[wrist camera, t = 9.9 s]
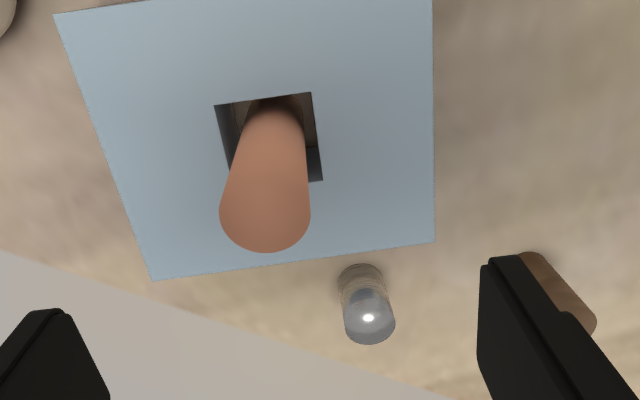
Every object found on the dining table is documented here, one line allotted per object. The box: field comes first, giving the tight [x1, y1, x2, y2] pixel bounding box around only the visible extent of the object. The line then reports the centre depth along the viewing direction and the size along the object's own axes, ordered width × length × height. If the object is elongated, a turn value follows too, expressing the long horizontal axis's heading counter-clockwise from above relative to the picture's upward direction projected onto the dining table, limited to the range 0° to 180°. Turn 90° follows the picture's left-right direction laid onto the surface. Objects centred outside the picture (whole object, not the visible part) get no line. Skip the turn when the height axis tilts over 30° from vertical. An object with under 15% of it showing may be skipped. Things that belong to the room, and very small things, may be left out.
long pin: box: [219, 94, 311, 253], centre depth 21 cm, size 3×3×12 cm
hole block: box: [52, 0, 435, 282], centre depth 24 cm, size 16×14×5 cm
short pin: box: [338, 264, 395, 345], centre depth 30 cm, size 3×3×4 cm
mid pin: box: [518, 252, 597, 336], centre depth 30 cm, size 3×3×6 cm
